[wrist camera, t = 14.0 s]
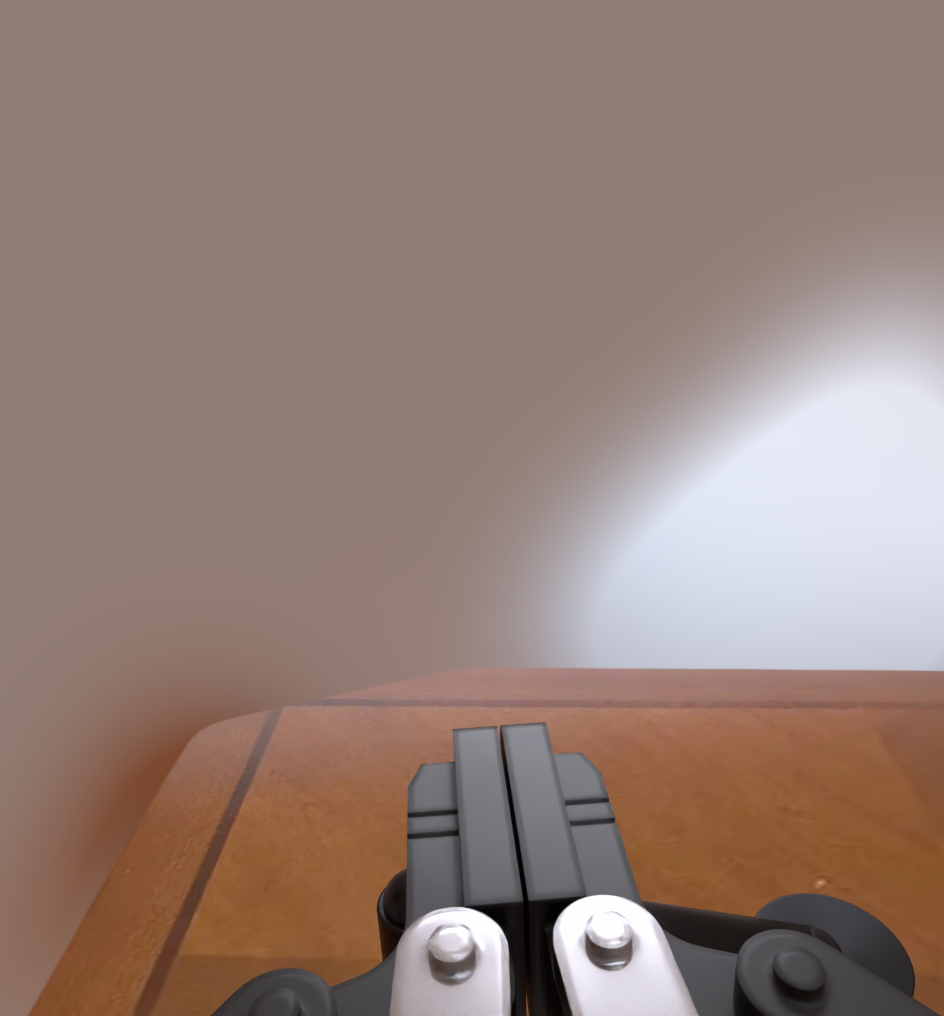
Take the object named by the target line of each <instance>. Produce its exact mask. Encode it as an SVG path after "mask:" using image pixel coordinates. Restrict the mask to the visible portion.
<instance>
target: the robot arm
mask: <svg viewBox="0 0 944 1016" xmlns="http://www.w3.org/2000/svg"><path fill="white" fill-rule="evenodd" d="M453 746H454V762H446V763H432V764H421V766H420V768H419V769H418V771H417V773H416V774H415V776H414V778H413V780H412V781H411V783H410V785H409V786H408V812H407V813H408V818H407V884H406V922H405V928H404V932H403V935H402V937H401V939H400V941H399V943H398V945H397V946H396V947H395V949H394V950H393V952H392V953H391V954H390V955H389V956H388V957H387V958H386V959H385V960H384V961H383V962H382V963H380V964H379V965H378V966H376V967H375V968H373V969H372V970H370V971H369V972H367V973H364V974H362V975H360V976H358V977H356V978H353V979H351V980H348V981H345V982H343V983H340V984H338V985H335V986H333V987H330V986H329V985H328V984H327V983H326V982H325V981H324V980H323V979H322V978H321V977H319V976H318V975H316V974H314V973H312V972H309V971H306V970H303V969H295V968H288V969H278V970H273V971H270V972H267V973H264V974H261V975H259V976H257V977H255V978H253V979H252V980H250V981H249V982H247V983H245V984H244V985H243V986H242V987H240V988H239V989H238V990H237V991H236V992H235V993H234V994H233V995H232V996H230V997H229V998H228V999H227V1000H226V1001H225V1002H224V1003H223V1004H222V1005H221V1006H220V1007H219V1008H218V1009H217V1010H216V1011H215V1012H214V1013H213V1014H212V1015H211V1016H526V995H527V1003H528V1010H529V1016H940V1015H939V1014H937V1013H936V1012H934V1011H932V1010H931V1009H929V1008H928V1007H926V1006H925V1005H923V1004H921V1003H920V1002H918V1001H917V1000H915V999H914V998H912V997H910V996H909V995H907V994H906V993H904V992H903V991H901V990H899V989H898V988H896V987H895V986H893V985H892V984H890V983H888V982H887V981H885V980H884V979H882V978H880V977H879V976H877V975H876V974H874V973H873V972H871V971H869V970H868V969H866V968H865V967H863V966H862V965H860V964H858V963H857V962H855V961H854V960H852V959H851V958H849V957H847V956H846V955H844V954H843V953H841V952H840V951H838V950H836V949H835V948H833V947H832V946H830V945H829V944H827V943H825V942H823V941H822V940H820V939H818V938H816V937H813V936H811V935H809V934H806V933H802V932H799V931H794V930H787V929H774V930H767V931H764V932H760V933H758V934H756V935H754V936H752V937H751V938H749V939H748V940H747V941H746V942H745V943H744V944H743V946H742V947H741V948H740V951H739V953H738V954H735V953H730V952H725V951H720V950H715V949H710V948H705V947H701V946H697V945H693V944H690V943H688V942H685V941H683V940H680V939H679V938H677V937H675V936H673V935H671V934H670V933H668V932H667V931H665V930H664V929H663V928H661V927H660V925H659V923H658V922H657V921H656V919H655V918H654V917H653V916H652V915H651V914H650V913H649V912H648V911H647V910H646V909H645V908H644V906H643V904H642V901H641V899H640V896H639V893H638V890H637V886H636V883H635V880H634V877H633V874H632V870H631V867H630V864H629V861H628V858H627V854H626V851H625V848H624V845H623V842H622V838H621V835H620V832H619V829H618V826H617V823H616V822H615V816H614V813H613V810H612V806H611V803H610V802H609V797H608V794H607V790H606V787H605V784H604V781H603V778H602V775H601V772H600V771H599V770H598V769H597V768H596V767H595V766H594V765H593V764H592V763H591V762H590V761H589V760H588V759H587V758H586V757H585V756H584V755H583V754H582V753H581V752H577V753H564V754H553V751H552V747H551V742H550V738H549V734H548V730H547V726H546V723H545V722H542V723H529V724H515V725H501V726H500V741H499V735H498V729H497V726H490V727H476V728H463V729H453ZM500 747H501V748H500Z"/></svg>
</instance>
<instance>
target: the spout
mask: <svg viewBox="0 0 944 1016" xmlns="http://www.w3.org/2000/svg"><path fill="white" fill-rule="evenodd" d="M406 884H407V869H405V870H403V871H401V872H399V873H398V874H396V875H395V876H394V877H393V878H392V879H391V880H390V882H389V883H388V885H387V887H386V888H385V889H384V890H383V891H382V893H381V895H380V897H379V899H378V903H377V915H378V924H379V933H380V941H381V950H382V959H383V961H384V960H385V959H386V958H387V957H388V956H389V955H390V954H391V953H392V952H393V950H394V949H395V947H396V946H397V945H398V943H399V941H400V939H401V937H402V935H403V932H404V928H405V922H406ZM642 904H643V906H644V908H645V909H646V910H647V911H648V912H649V913H650V914H651V915H652V916H653V917H654V918H655V919H656V921H657V922H658V923H659V925H660V927H661V928H663V929H664V930H665V931H667V932H668V933H670V934H671V935H673V936H675V937H677V938H679V939H680V940H683V941H685V942H688V943H690V944H693V945H697V946H701V947H705V948H710V949H715V950H720V951H725V952H730V953H735V954H738V953H739V951H740V948H741V947H742V946H743V944H744V943H745V942H746V941H747V940H748V939H749V938H751V937H752V936H754V935H756V934H758V933H760V932H764V931H767V930H774V929H787V930H794V931H799V932H802V933H806V934H809V935H811V936H813V937H816V938H818V939H820V940H822V941H823V942H825V943H827V944H829V945H830V946H832V947H833V948H835V949H836V950H838V951H840V952H841V953H843V954H844V955H846V956H847V957H849V958H851V959H852V960H854V961H855V962H857V963H858V964H860V965H862V966H863V967H865V968H866V969H868V970H869V971H871V972H873V973H874V974H876V975H877V976H879V977H880V978H882V979H884V980H885V981H887V982H888V983H890V984H892V985H893V986H895V987H896V988H898V989H899V990H901V991H903V992H904V993H906V994H907V995H909V996H910V997H912V998H913V995H914V989H915V975H914V970H913V966H912V963H911V961H910V958H909V956H908V954H907V952H906V950H905V948H904V947H903V946H902V944H901V943H900V941H899V940H898V939H897V937H896V936H895V935H894V934H893V933H892V932H891V931H890V930H889V929H888V928H887V927H886V926H885V925H884V924H883V923H881V922H880V921H879V920H878V919H876V918H875V917H874V916H872V915H871V914H869V913H868V912H866V911H864V910H862V909H861V908H859V907H857V906H855V905H852V904H850V903H848V902H845V901H843V900H840V899H837V898H833V897H830V896H825V895H819V894H792V895H787V896H783V897H780V898H777V899H775V900H773V901H771V902H769V903H768V904H766V905H765V906H764V907H763V908H762V909H761V910H760V911H759V912H758V913H757V914H756V916H755V917H749V916H742V915H736V914H729V913H722V912H715V911H708V910H701V909H695V908H688V907H681V906H674V905H667V904H661V903H654V902H647V901H642Z"/></svg>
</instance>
